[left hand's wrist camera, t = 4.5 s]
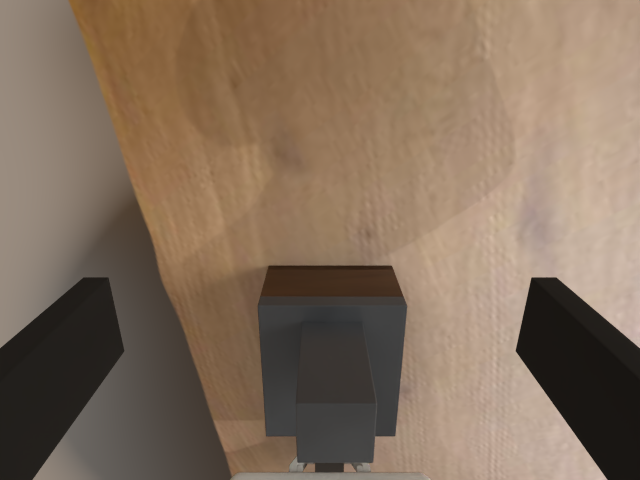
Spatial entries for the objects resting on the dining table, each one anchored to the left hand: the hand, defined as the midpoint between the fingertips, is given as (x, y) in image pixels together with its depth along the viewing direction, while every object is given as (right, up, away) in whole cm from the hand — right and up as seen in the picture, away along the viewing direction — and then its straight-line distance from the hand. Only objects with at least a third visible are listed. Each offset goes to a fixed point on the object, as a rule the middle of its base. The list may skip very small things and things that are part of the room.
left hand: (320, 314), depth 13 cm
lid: (+1, -8, +25) cm, 27 cm away
